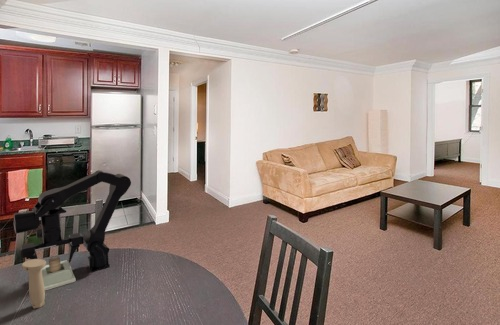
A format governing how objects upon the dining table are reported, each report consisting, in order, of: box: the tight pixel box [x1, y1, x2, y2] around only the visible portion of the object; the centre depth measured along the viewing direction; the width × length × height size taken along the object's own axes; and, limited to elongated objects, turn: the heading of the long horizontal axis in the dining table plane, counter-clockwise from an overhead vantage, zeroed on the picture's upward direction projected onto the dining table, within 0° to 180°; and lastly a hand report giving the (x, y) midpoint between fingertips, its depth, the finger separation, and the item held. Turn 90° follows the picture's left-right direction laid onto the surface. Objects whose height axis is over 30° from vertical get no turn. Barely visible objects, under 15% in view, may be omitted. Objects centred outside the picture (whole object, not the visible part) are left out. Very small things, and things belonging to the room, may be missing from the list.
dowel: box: [48, 256, 61, 273], centre depth 106 cm, size 3×3×8 cm
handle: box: [21, 258, 47, 309], centre depth 91 cm, size 5×6×15 cm
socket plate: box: [42, 259, 77, 291], centre depth 106 cm, size 11×11×4 cm
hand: (54, 266), depth 106 cm, fingers open, 9 cm apart
